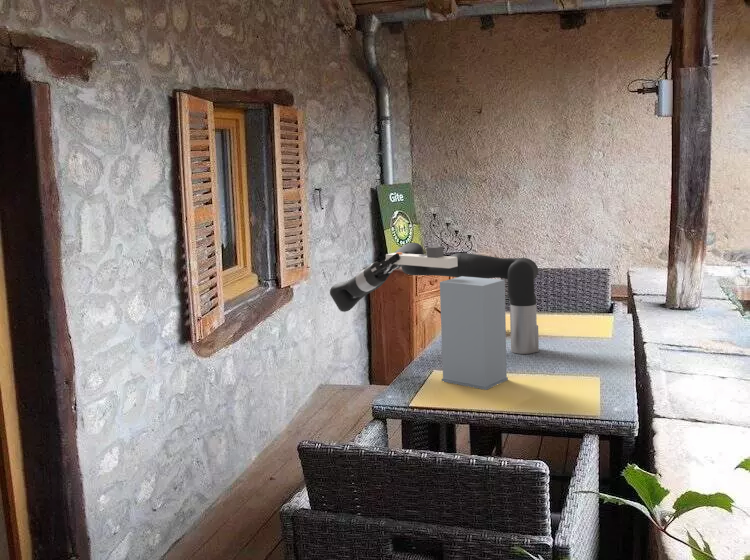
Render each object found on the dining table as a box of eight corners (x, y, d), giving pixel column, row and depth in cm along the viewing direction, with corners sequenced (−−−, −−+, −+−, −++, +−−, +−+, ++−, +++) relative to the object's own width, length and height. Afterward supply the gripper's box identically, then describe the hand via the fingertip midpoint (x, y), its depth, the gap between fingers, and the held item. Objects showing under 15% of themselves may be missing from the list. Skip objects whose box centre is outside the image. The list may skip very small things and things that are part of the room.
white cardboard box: (386, 263, 258) (385, 245, 257) (394, 261, 261) (393, 243, 260) (449, 268, 241) (448, 248, 240) (457, 266, 244) (457, 246, 243)
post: (441, 381, 245) (438, 282, 239) (464, 371, 254) (461, 276, 249) (485, 390, 234) (483, 286, 228) (508, 379, 243) (506, 279, 238)
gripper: (389, 283, 271) (421, 262, 260) (362, 290, 260) (394, 268, 249) (380, 264, 272) (412, 242, 261) (352, 270, 262) (384, 247, 251)
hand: (403, 255), depth 255 cm, fingers closed on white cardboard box, 4 cm apart
